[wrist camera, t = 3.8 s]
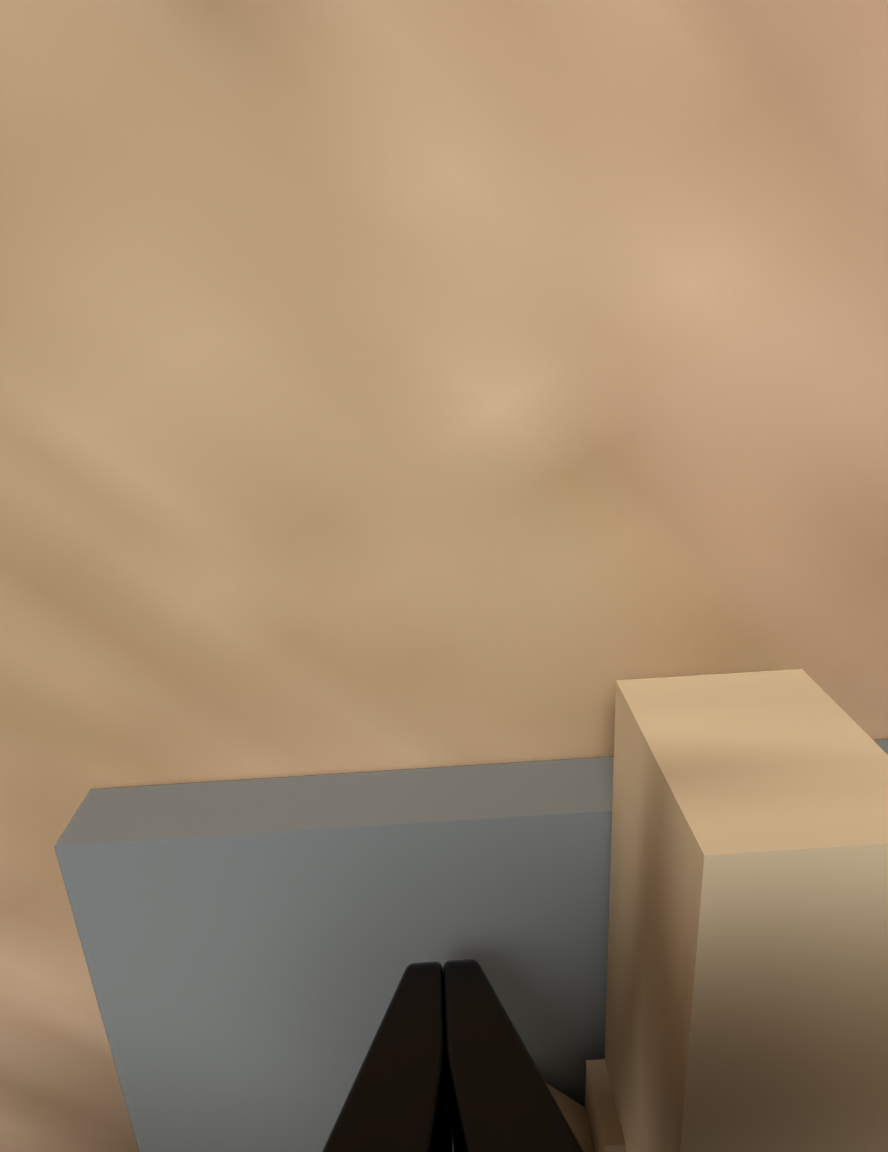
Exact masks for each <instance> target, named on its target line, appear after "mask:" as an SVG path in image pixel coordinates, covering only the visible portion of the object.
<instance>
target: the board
mask: <svg viewBox="0 0 888 1152" xmlns="http://www.w3.org/2000/svg"><path fill="white" fill-rule="evenodd" d="M873 741H874V742H875V743H876V744H877V745H878V746H879V747H880V748H881V749H882V750H883V751H884V752H885V753H886V754H887V755H888V739H881V740H873ZM613 765H614V756H611V757H596V758H580V759H564V760H548V761H532V762H516V763H500V764H484V765H469V766H453V767H437V768H421V769H405V770H389V771H373V772H358V773H342V774H326V775H310V776H294V777H278V778H262V779H247V780H231V781H215V782H199V783H183V784H167V785H151V786H136V787H120V788H104V789H91V790H90V791H89V793H88V794H87V796H86V797H85V799H84V801H83V802H82V804H81V805H80V807H79V808H78V810H77V811H76V813H75V815H74V816H73V818H72V819H71V821H70V822H69V824H68V826H67V827H66V829H65V830H64V832H63V833H62V835H61V836H60V838H59V840H58V841H57V843H56V844H55V846H54V848H55V851H56V855H57V858H58V862H59V866H60V869H61V873H62V876H63V880H64V883H65V887H66V891H67V894H68V898H69V901H70V905H71V909H72V912H73V916H74V919H75V923H76V927H77V930H78V934H79V937H80V941H81V945H82V948H83V952H84V955H85V959H86V963H87V966H88V970H89V973H90V977H91V981H92V984H93V988H94V991H95V995H96V999H97V1002H98V1006H99V1009H100V1013H101V1017H102V1020H103V1024H104V1027H105V1031H106V1035H107V1038H108V1042H109V1045H110V1049H111V1052H112V1056H113V1060H114V1063H115V1067H116V1070H117V1074H118V1078H119V1081H120V1085H121V1088H122V1092H123V1096H124V1099H125V1103H126V1106H127V1110H128V1114H129V1117H130V1121H131V1124H132V1128H133V1132H134V1135H135V1139H136V1142H137V1146H138V1150H139V1152H322V1150H323V1148H324V1146H325V1144H326V1142H327V1139H328V1137H329V1135H330V1133H331V1131H332V1129H333V1126H334V1124H335V1122H336V1120H337V1118H338V1115H339V1113H340V1111H341V1109H342V1107H343V1104H344V1102H345V1100H346V1098H347V1096H348V1094H349V1091H350V1089H351V1087H352V1085H353V1083H354V1080H355V1078H356V1076H357V1074H358V1072H359V1069H360V1067H361V1065H362V1063H363V1061H364V1059H365V1056H366V1054H367V1052H368V1050H369V1048H370V1045H371V1043H372V1041H373V1039H374V1037H375V1034H376V1032H377V1030H378V1028H379V1026H380V1024H381V1021H382V1019H383V1017H384V1015H385V1013H386V1010H387V1008H388V1006H389V1004H390V1002H391V999H392V997H393V995H394V993H395V991H396V989H397V986H398V984H399V982H400V980H401V978H402V975H403V973H404V971H405V969H406V968H407V966H408V965H410V964H411V963H420V962H434V961H437V962H439V963H441V965H442V967H443V965H444V963H445V962H446V961H449V960H463V959H475V960H476V961H477V962H478V963H479V964H480V965H481V967H482V969H483V971H484V972H485V974H486V976H487V978H488V980H489V981H490V983H491V985H492V987H493V989H494V990H495V992H496V994H497V996H498V998H499V999H500V1001H501V1003H502V1005H503V1007H504V1008H505V1010H506V1012H507V1014H508V1016H509V1017H510V1019H511V1021H512V1023H513V1025H514V1026H515V1028H516V1030H517V1032H518V1034H519V1035H520V1037H521V1039H522V1041H523V1043H524V1044H525V1046H526V1048H527V1050H528V1052H529V1053H530V1055H531V1057H532V1059H533V1061H534V1062H535V1064H536V1066H537V1068H538V1070H539V1071H540V1073H541V1075H542V1077H543V1079H544V1080H545V1082H546V1083H547V1084H549V1085H550V1086H552V1087H553V1088H555V1089H556V1090H558V1091H560V1092H561V1093H563V1094H564V1095H566V1096H567V1097H569V1098H571V1099H572V1100H574V1101H575V1102H577V1103H578V1104H580V1105H582V1106H583V1107H585V1093H586V1060H598V1059H605V1030H606V997H607V964H608V930H609V897H610V864H611V831H612V798H613ZM452 1142H453V1138H452Z"/></svg>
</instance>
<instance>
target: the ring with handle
mask: <svg viewBox="0 0 888 1152" xmlns="http://www.w3.org/2000/svg"><path fill="white" fill-rule="evenodd" d="M546 1084H547V1083H546ZM547 1086H548V1088H549V1089H550V1091H551V1093H552V1095H553V1097H554V1098H555V1100H556V1102H557V1104H558V1106H559V1107H560V1109H561V1111H562V1113H563V1115H564V1116H565V1118H566V1120H567V1122H568V1124H569V1125H570V1127H571V1129H572V1131H573V1133H574V1134H575V1136H576V1138H577V1140H578V1142H579V1143H580V1145H581V1147H582V1149H583V1151H584V1152H888V755H887V754H886V753H885V752H884V751H883V750H882V749H881V748H880V747H879V746H878V745H877V744H876V743H875V742H874V741H873V740H872V739H871V738H870V737H869V736H868V735H867V734H866V733H865V732H864V731H863V730H862V729H861V728H860V727H859V726H858V725H857V724H856V723H855V722H854V721H853V720H852V719H851V718H850V717H849V716H848V715H847V714H846V713H845V712H844V711H843V710H842V709H841V708H840V707H839V706H838V705H837V704H836V703H835V702H834V701H833V700H832V699H831V698H830V697H829V696H828V695H827V694H826V693H825V692H824V691H823V690H822V689H821V688H820V687H819V686H818V685H817V684H816V683H815V682H814V681H813V680H812V679H811V678H810V677H809V676H808V675H807V674H806V673H805V672H804V671H803V670H802V669H794V670H778V671H761V672H745V673H729V674H713V675H697V676H680V677H664V678H648V679H632V680H616V699H615V732H614V765H613V798H612V831H611V864H610V897H609V930H608V964H607V997H606V1030H605V1059H598V1060H586V1093H585V1107H583V1106H582V1105H580V1104H578V1103H577V1102H575V1101H574V1100H572V1099H571V1098H569V1097H567V1096H566V1095H564V1094H563V1093H561V1092H560V1091H558V1090H556V1089H555V1088H553V1087H552V1086H550V1085H549V1084H547ZM453 1152H454V1151H453Z"/></svg>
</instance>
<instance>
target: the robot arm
mask: <svg viewBox="0 0 888 1152" xmlns="http://www.w3.org/2000/svg"><path fill="white" fill-rule="evenodd" d="M452 1138H453V1142H452ZM453 1151H454V1152H584V1151H583V1149H582V1147H581V1145H580V1143H579V1142H578V1140H577V1138H576V1136H575V1134H574V1133H573V1131H572V1129H571V1127H570V1125H569V1124H568V1122H567V1120H566V1118H565V1116H564V1115H563V1113H562V1111H561V1109H560V1107H559V1106H558V1104H557V1102H556V1100H555V1098H554V1097H553V1095H552V1093H551V1091H550V1089H549V1088H548V1086H547V1084H546V1082H545V1080H544V1079H543V1077H542V1075H541V1073H540V1071H539V1070H538V1068H537V1066H536V1064H535V1062H534V1061H533V1059H532V1057H531V1055H530V1053H529V1052H528V1050H527V1048H526V1046H525V1044H524V1043H523V1041H522V1039H521V1037H520V1035H519V1034H518V1032H517V1030H516V1028H515V1026H514V1025H513V1023H512V1021H511V1019H510V1017H509V1016H508V1014H507V1012H506V1010H505V1008H504V1007H503V1005H502V1003H501V1001H500V999H499V998H498V996H497V994H496V992H495V990H494V989H493V987H492V985H491V983H490V981H489V980H488V978H487V976H486V974H485V972H484V971H483V969H482V967H481V965H480V964H479V963H478V962H477V961H476V960H475V959H463V960H449V961H446V962H445V963H444V965H443V967H442V965H441V963H439V962H437V961H434V962H420V963H411V964H410V965H408V966H407V968H406V969H405V971H404V973H403V975H402V978H401V980H400V982H399V984H398V986H397V989H396V991H395V993H394V995H393V997H392V999H391V1002H390V1004H389V1006H388V1008H387V1010H386V1013H385V1015H384V1017H383V1019H382V1021H381V1024H380V1026H379V1028H378V1030H377V1032H376V1034H375V1037H374V1039H373V1041H372V1043H371V1045H370V1048H369V1050H368V1052H367V1054H366V1056H365V1059H364V1061H363V1063H362V1065H361V1067H360V1069H359V1072H358V1074H357V1076H356V1078H355V1080H354V1083H353V1085H352V1087H351V1089H350V1091H349V1094H348V1096H347V1098H346V1100H345V1102H344V1104H343V1107H342V1109H341V1111H340V1113H339V1115H338V1118H337V1120H336V1122H335V1124H334V1126H333V1129H332V1131H331V1133H330V1135H329V1137H328V1139H327V1142H326V1144H325V1146H324V1148H323V1150H322V1152H453Z"/></svg>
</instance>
